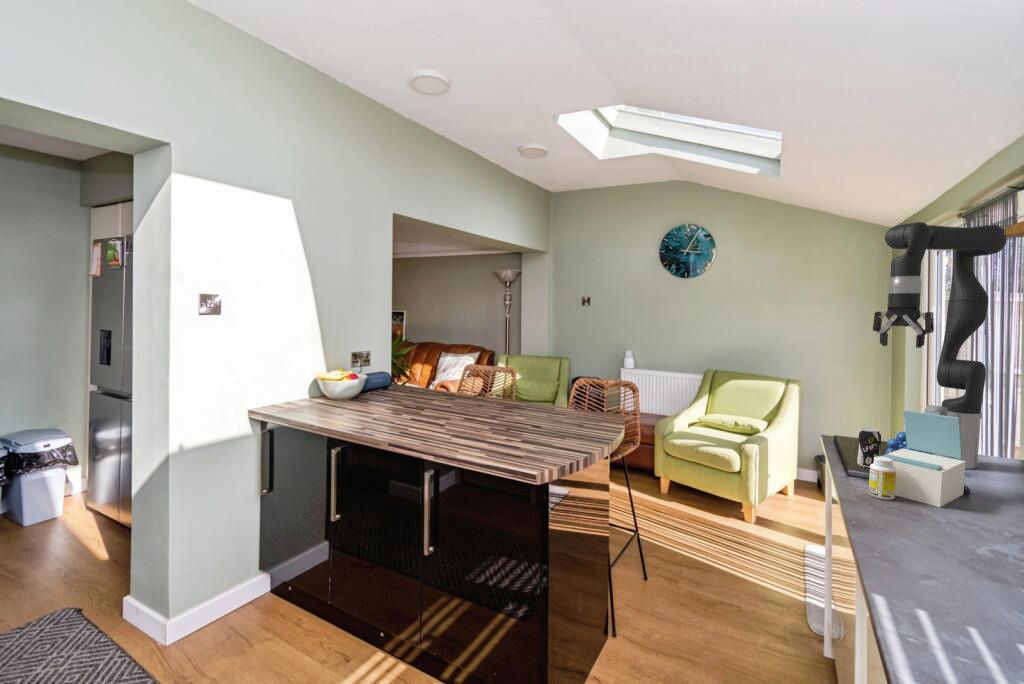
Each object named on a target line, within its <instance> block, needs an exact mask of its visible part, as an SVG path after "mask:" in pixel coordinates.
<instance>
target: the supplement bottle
mask: <svg viewBox="0 0 1024 684" xmlns="http://www.w3.org/2000/svg"><path fill="white" fill-rule="evenodd" d="M880 456H881V455H880ZM880 456H877V457H874V463H873V464H871V465H870V469H869V479H868V494H869V496H872V497H873V498H877V499H880V500H888V501H889V500H894V499H895V498H896V495H895V485H896V468H895V467H893V460H892V459H890V458H887V457H880Z"/></svg>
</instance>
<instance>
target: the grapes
mask: <svg viewBox="0 0 1024 684" xmlns="http://www.w3.org/2000/svg"><path fill="white" fill-rule="evenodd" d="M887 446H888V447H889V448H887V449H886V450H885V455H886V454H888V453H891V452H894V451H897V450H900V449H902V448H903V449H908V450H913V451H917V452H922V453H927V454H932V455H934V453H930V452H925V451H920V450H915V449H910V448H907V442H906V432H905V431H899V432H897V434H896V435H895V437H892V438H889V439H888V440H887Z"/></svg>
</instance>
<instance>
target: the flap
mask: <svg viewBox="0 0 1024 684" xmlns="http://www.w3.org/2000/svg"><path fill="white" fill-rule="evenodd" d="M941 406H942V405H941ZM941 406H940V405H933V404H926V405H925V408H924V412H922V411H915V410H907V409H903V410H902V411H903V420H904V432H906V442H907V448H910V449H915V450H920V451H925V452H930V453H933V454H934V455H935V454H936V455H938V454H940V455H945V456H950V457H954V458H959V459H961V458H962V452H961V437H960V422H959V418H957V417H950V416H948V409H947V407H941Z"/></svg>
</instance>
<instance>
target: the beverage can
mask: <svg viewBox="0 0 1024 684" xmlns="http://www.w3.org/2000/svg"><path fill="white" fill-rule="evenodd" d="M860 429H861V430H859V432H858V437H857V438H858V439H857V461H856V463H857V464H858V465H859V466H860V467H861V466H863V467H862V468H864V467H868V468H870V465H871V464H873V463H874V457H877V456H881V450H882V449H881V446H882V434H881V433H880V430H879V429H877V428H875V427H874V428H872V427H861V428H860ZM868 468H867V469H868Z"/></svg>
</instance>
